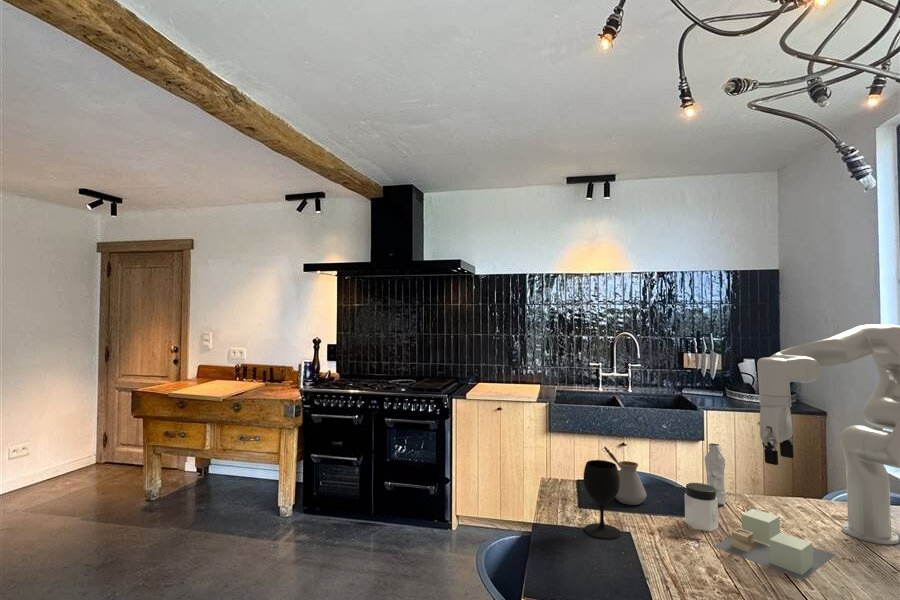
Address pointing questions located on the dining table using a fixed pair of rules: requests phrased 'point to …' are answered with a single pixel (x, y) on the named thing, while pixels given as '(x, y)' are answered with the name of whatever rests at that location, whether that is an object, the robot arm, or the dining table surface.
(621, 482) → the coffee pot
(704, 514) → the jar
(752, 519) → the cover
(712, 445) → the plastic bottle
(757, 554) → the slate mat
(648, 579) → the dining table surface
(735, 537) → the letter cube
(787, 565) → the cover
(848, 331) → the robot arm
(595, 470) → the wine glass
